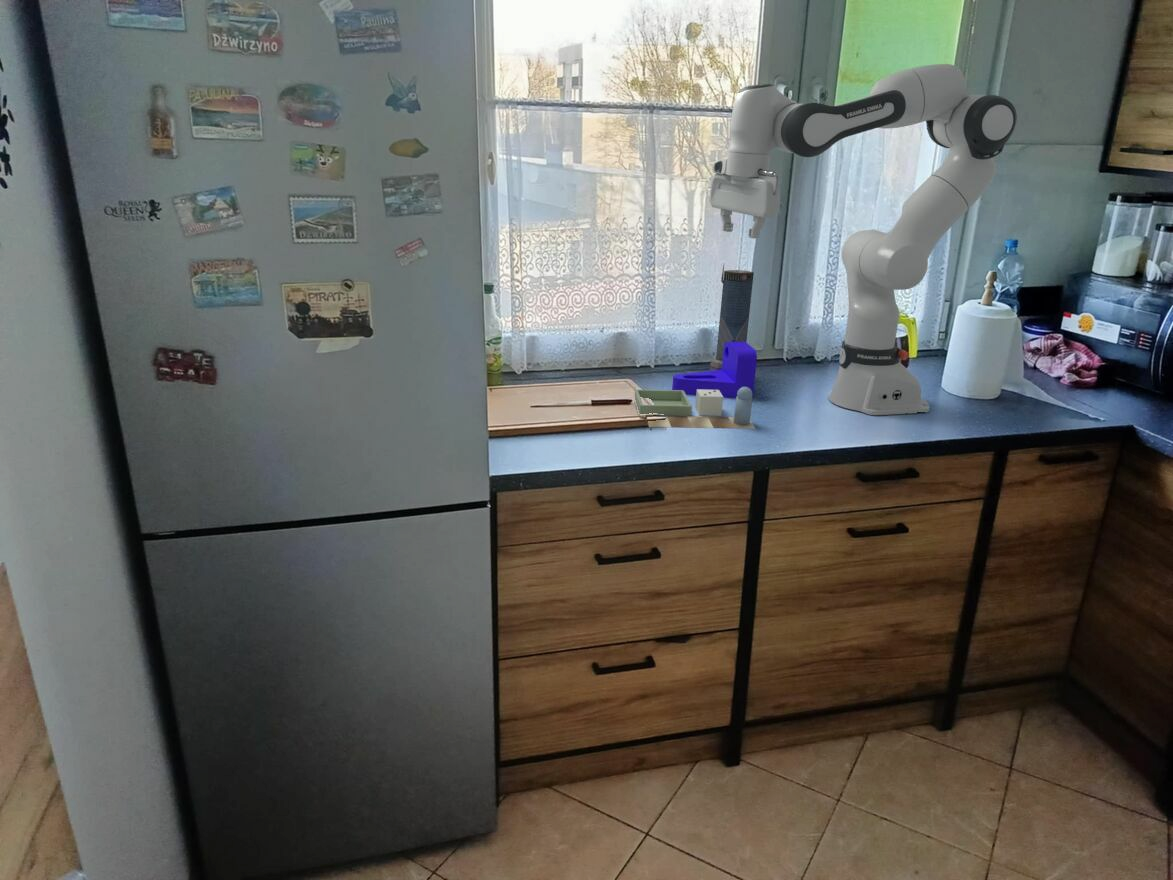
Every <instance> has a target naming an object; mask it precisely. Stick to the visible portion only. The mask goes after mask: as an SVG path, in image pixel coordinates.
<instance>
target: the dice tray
mask: <svg viewBox="0 0 1173 880" xmlns="http://www.w3.org/2000/svg"><path fill="white" fill-rule="evenodd" d="M634 397H635V400H636V404H637V407H638V410H639V413H640V414H649V413H652V414H653V413H658V414H664V415H666V416H692V404H691V402H690V400H689V399H688V396H687V394H685V392H684V390H672V389H634ZM640 397H643V398H649V399H651V400H652V402H653V403H654V405H643V404H642V401H641V398H640Z"/></svg>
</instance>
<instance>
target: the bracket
mask: <svg viewBox="0 0 1173 880" xmlns="http://www.w3.org/2000/svg"><path fill="white" fill-rule="evenodd" d="M757 358H758V355H757V351H756V349H755V348H753V347H752V346H751V345H750V344H749V343H747V342H726V343H725V345H724V352H723V362H722V370H714V371H710V370H708V371H707V370H706V371H698V372H697V371H695V372H689V373H679V374H673V375H672V385H671V387H672V388H671V390H684V392H685V394H686V395H693V396H696V391H697V389H704V390H719V391H720V392H721V394H722V396H723V398H729V399H730V398H732V399H736V397H737V392H738V390H739V389H740V388H742V387H748V388H750V389H751V391H752V399H753V398H754V397H753V396H754V390H755V388H754V387H755V379H756V371H757V370H756V369H757V361H758V359H757Z"/></svg>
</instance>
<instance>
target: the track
mask: <svg viewBox="0 0 1173 880" xmlns="http://www.w3.org/2000/svg"><path fill="white" fill-rule="evenodd" d="M647 425H648V428H649V430H652V428H678V429H679V428H683V429H684V428H685V429H689V428H693V429H744V430H745V429H747V430H750V429H751V430H756V427H755V425H754V424H753V422H752V420H750V424H749V425H737V424H735V423H734V416H699V415H698V416H692V415H691V416H666V419H665V420H656V421H648V423H647Z"/></svg>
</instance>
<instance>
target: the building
mask: <svg viewBox="0 0 1173 880" xmlns="http://www.w3.org/2000/svg"><path fill="white" fill-rule="evenodd" d="M722 266H723V267H722V274H721V280H720V281H721V283H722V291H721V292H722V294H721V302H720V311H719V312H720V313H719V323H718V334H717V335H718V336H717V346H716V356H715V359H713V360H710V364H709V371H714V370H722V362H723V352H724V345H725V343H726V342H746V343H747V341H748V331H749V330H748V329H749V321H750V311H751V303H752V293H753V284H754V275H755V274H754V273H755V271H750V270H742V269H741V270H737V269H729V270H724V269H725V264H723V265H722Z"/></svg>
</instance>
